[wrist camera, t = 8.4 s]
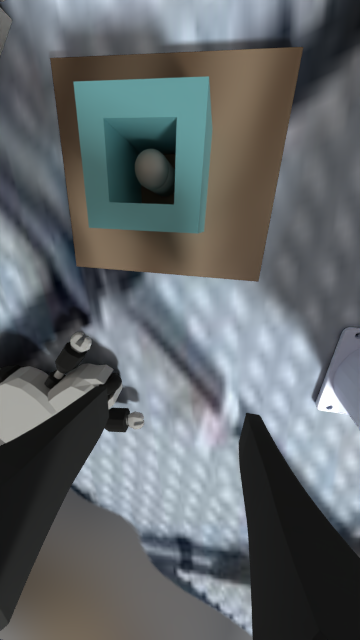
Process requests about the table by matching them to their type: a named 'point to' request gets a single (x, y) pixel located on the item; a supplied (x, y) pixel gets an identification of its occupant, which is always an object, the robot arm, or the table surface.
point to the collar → (138, 135)
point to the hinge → (4, 27)
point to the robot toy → (58, 391)
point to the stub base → (159, 169)
